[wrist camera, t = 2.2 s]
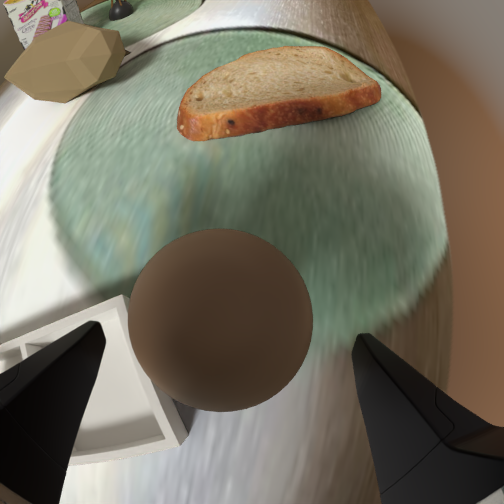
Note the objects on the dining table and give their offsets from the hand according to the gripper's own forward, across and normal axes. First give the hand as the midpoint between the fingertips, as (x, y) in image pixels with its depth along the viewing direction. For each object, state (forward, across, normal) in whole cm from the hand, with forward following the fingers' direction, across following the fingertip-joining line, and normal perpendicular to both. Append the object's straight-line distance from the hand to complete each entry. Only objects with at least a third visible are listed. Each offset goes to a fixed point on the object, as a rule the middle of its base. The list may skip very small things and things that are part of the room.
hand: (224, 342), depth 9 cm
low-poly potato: (+25, +20, -13) cm, 34 cm away
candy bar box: (+37, +34, -24) cm, 56 cm away
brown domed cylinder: (+6, 0, +6) cm, 8 cm away
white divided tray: (+2, +13, +10) cm, 16 cm away
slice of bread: (+22, -4, -10) cm, 25 cm away
